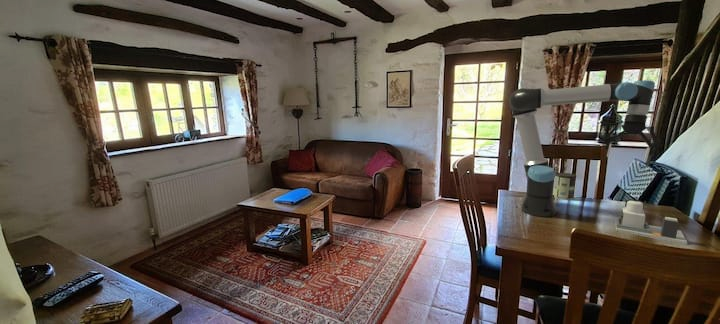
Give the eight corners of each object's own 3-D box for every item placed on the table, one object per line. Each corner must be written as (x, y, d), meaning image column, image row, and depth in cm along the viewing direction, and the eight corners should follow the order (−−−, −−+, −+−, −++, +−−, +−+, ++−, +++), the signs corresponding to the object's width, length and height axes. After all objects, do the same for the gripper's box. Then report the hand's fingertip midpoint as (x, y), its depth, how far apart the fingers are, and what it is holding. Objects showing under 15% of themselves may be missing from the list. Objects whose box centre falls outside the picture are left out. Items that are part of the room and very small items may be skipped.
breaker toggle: (661, 236, 120) (664, 218, 119) (660, 233, 123) (663, 216, 121) (675, 238, 118) (679, 220, 116) (674, 236, 120) (677, 218, 119)
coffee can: (568, 195, 180) (571, 172, 177) (577, 200, 170) (580, 176, 167) (549, 194, 182) (552, 172, 179) (557, 199, 172) (559, 176, 170)
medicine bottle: (619, 222, 135) (623, 197, 133) (641, 225, 131) (645, 200, 129) (620, 227, 130) (624, 201, 128) (643, 231, 125) (647, 204, 123)
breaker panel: (616, 231, 129) (617, 225, 128) (615, 221, 139) (616, 216, 138) (686, 244, 116) (687, 238, 115) (680, 233, 126) (681, 227, 125)
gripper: (672, 117, 134) (660, 163, 137) (602, 113, 149) (593, 154, 152) (676, 116, 128) (663, 164, 131) (603, 111, 143) (593, 154, 146)
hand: (625, 159), depth 141 cm, fingers open, 13 cm apart
